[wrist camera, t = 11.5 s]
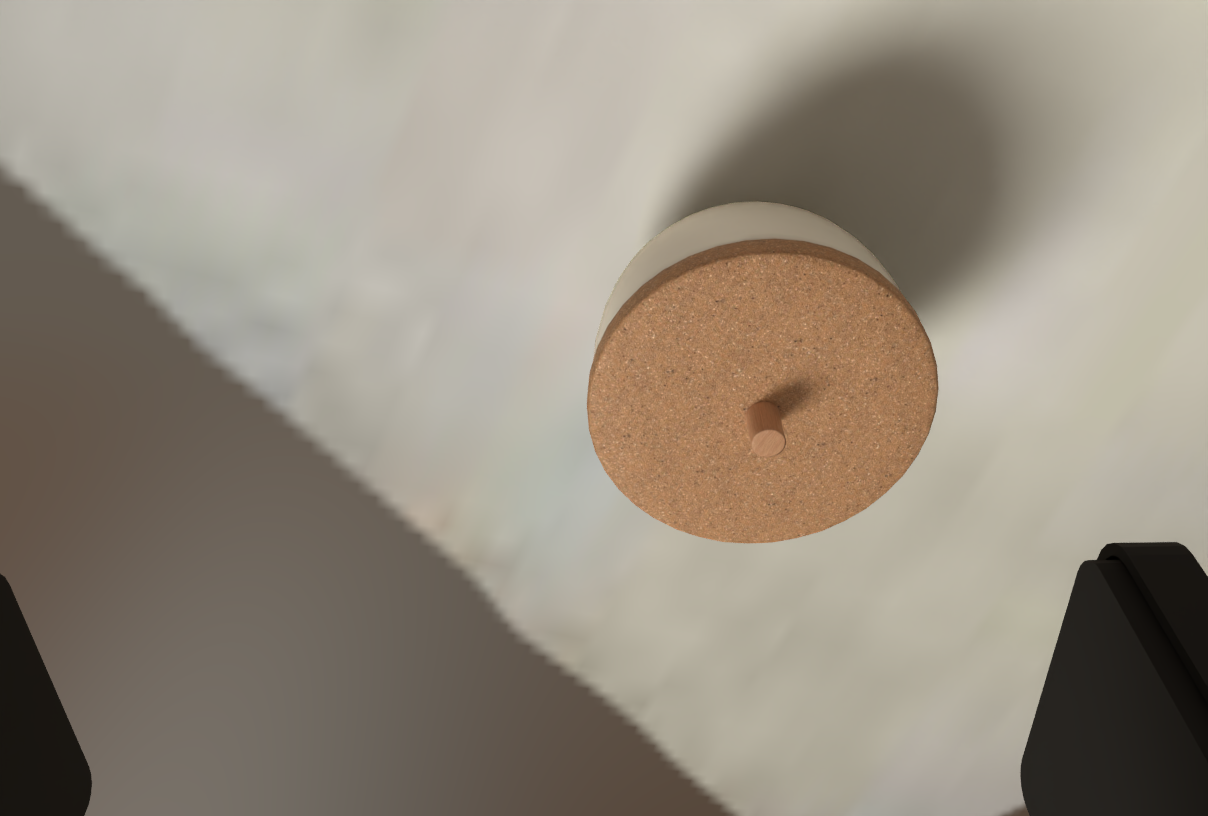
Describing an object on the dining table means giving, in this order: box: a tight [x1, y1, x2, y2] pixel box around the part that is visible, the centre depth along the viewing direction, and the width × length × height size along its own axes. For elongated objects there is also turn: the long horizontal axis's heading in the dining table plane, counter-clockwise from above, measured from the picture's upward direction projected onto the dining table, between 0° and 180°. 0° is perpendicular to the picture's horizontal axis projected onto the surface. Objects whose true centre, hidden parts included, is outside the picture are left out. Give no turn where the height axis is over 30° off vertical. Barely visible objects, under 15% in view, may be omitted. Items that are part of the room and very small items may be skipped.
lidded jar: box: [587, 201, 938, 543], centre depth 35 cm, size 11×11×9 cm
